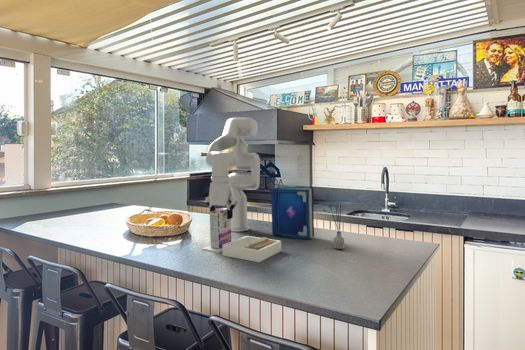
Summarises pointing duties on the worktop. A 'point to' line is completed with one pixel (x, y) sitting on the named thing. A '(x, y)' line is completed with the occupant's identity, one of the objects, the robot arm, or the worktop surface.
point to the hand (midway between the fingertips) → (221, 217)
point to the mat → (212, 249)
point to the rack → (243, 252)
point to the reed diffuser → (338, 233)
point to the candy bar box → (219, 228)
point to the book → (292, 212)
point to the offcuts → (260, 243)
